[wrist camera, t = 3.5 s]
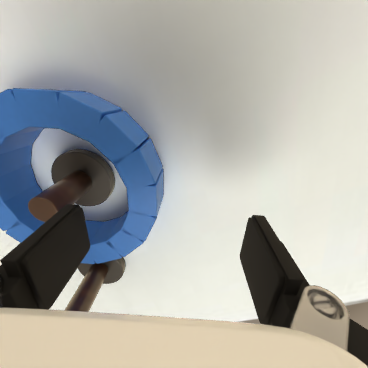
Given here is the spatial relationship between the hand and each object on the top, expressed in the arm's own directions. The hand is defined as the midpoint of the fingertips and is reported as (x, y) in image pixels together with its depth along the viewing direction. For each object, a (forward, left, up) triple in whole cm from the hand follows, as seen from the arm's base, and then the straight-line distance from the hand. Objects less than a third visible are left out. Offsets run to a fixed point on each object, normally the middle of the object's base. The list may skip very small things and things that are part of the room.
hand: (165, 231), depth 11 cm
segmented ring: (+7, 0, -6) cm, 9 cm away
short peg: (+7, 0, -6) cm, 9 cm away
